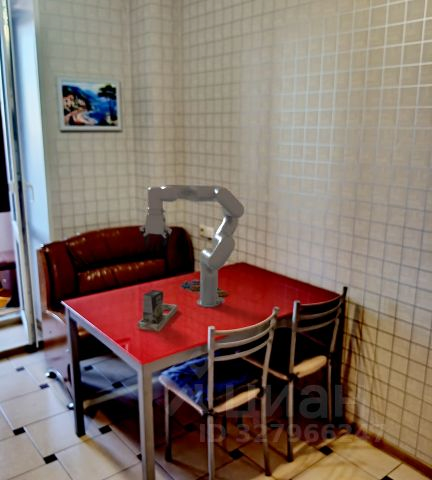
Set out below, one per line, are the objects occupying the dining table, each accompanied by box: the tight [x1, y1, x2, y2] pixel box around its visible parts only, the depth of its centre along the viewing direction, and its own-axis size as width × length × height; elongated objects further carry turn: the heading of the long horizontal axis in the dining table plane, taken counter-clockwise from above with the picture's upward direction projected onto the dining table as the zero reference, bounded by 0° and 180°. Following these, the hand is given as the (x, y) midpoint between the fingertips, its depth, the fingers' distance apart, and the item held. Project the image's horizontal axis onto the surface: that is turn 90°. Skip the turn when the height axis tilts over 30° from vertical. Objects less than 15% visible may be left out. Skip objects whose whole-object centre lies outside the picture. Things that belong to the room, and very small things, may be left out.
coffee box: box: [142, 289, 164, 324], centre depth 225 cm, size 9×6×16 cm
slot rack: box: [137, 303, 179, 332], centre depth 233 cm, size 11×27×3 cm, turn 166°
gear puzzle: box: [179, 279, 228, 297], centre depth 275 cm, size 31×16×4 cm, turn 49°
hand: (155, 244), depth 236 cm, fingers open, 9 cm apart
